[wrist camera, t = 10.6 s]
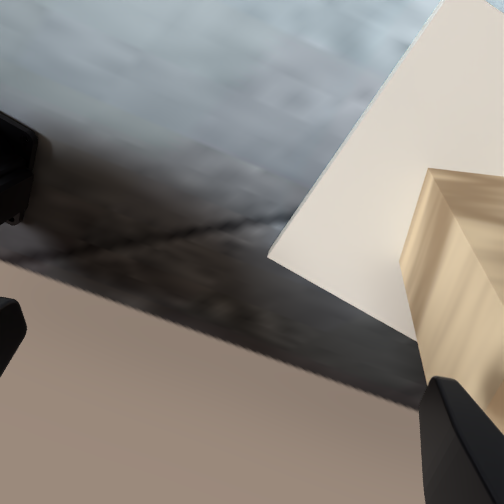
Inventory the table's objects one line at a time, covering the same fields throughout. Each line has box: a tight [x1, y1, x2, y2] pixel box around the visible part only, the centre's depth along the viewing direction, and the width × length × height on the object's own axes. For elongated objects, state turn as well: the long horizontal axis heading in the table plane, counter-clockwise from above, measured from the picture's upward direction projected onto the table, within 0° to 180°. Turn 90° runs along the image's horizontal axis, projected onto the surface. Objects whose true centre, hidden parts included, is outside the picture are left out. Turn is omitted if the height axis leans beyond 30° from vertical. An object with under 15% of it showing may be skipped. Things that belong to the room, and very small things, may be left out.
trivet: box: [267, 0, 504, 341], centre depth 19 cm, size 14×14×1 cm
